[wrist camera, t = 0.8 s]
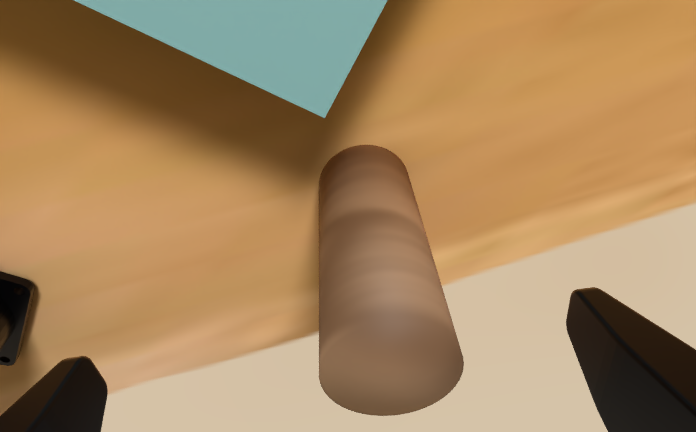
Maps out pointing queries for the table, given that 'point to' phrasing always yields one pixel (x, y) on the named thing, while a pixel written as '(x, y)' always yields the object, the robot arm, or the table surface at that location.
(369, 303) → the walnut dowel
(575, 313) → the robot arm
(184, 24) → the socket block
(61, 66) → the table surface
